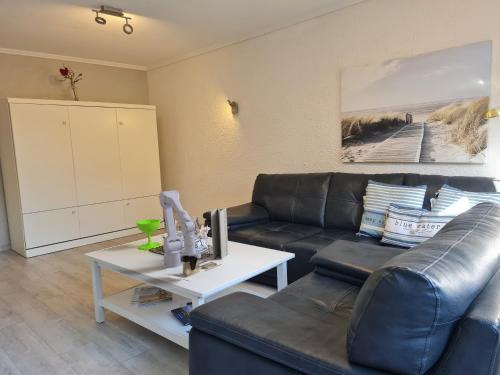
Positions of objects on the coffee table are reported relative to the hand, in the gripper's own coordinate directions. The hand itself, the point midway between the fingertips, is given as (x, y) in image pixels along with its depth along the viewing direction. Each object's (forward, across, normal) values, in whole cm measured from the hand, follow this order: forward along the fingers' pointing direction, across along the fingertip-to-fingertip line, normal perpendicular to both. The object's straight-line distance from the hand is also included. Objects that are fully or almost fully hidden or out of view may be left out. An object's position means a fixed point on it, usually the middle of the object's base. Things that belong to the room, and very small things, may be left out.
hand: (190, 269), depth 192 cm
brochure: (+4, -9, +32) cm, 34 cm away
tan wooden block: (+3, 0, 0) cm, 3 cm away
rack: (+4, -3, +14) cm, 15 cm away
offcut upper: (+3, -1, +14) cm, 15 cm away
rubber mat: (+4, 0, 0) cm, 4 cm away
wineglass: (+4, -69, +24) cm, 73 cm away
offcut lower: (+3, -1, +14) cm, 14 cm away
